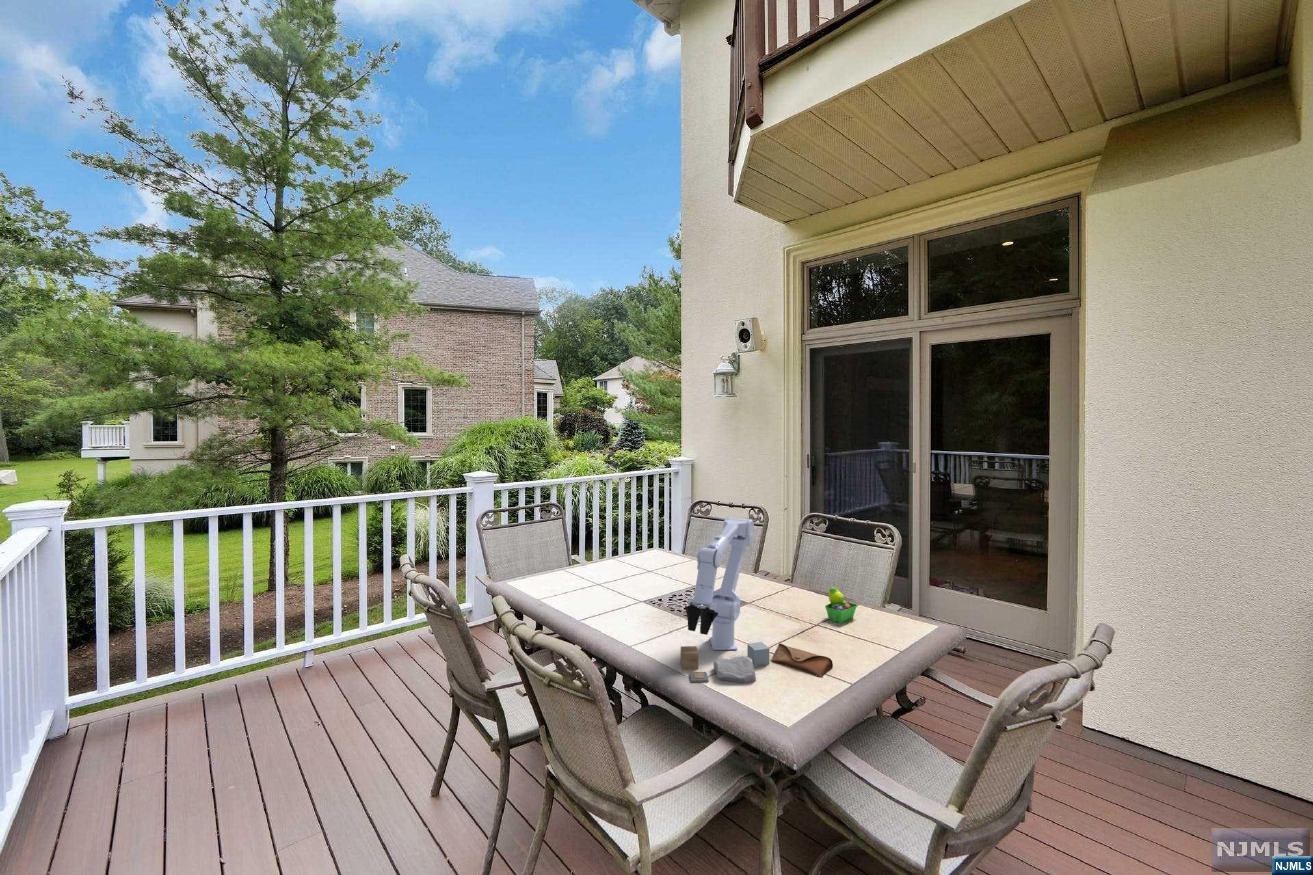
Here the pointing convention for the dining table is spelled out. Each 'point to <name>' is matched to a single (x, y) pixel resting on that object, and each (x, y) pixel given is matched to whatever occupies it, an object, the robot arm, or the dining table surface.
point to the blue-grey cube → (758, 653)
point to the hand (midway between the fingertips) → (697, 632)
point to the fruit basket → (839, 607)
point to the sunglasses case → (802, 660)
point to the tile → (699, 677)
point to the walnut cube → (689, 657)
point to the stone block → (735, 669)
